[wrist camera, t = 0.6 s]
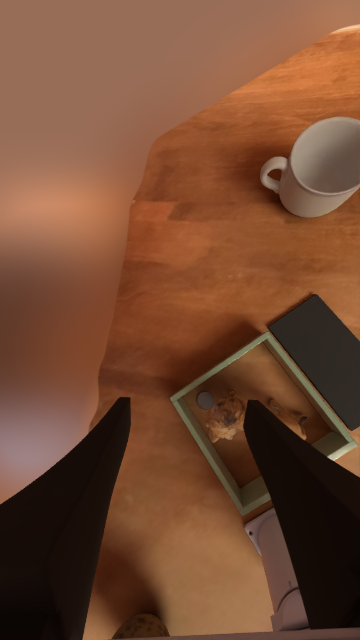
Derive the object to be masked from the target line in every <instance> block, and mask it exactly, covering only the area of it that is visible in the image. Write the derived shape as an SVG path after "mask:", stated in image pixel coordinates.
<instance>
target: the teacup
mask: <svg viewBox="0 0 360 640" xmlns="http://www.w3.org/2000/svg"><path fill="white" fill-rule="evenodd" d="M273 169H281V170H282V176H281V179H280V181H277V180H274V179H272V178H270V177H269V176H268V175H267V174H268V172H270V171H271V170H273ZM260 179H261V182H262V184H263V185H264V186H265V187H267V188H269V189H272V190H274V192H275V193H277V194H279V196H280V199H281V202H282V204H283V205H284V207H285V208H286V209H287V210H288V211H289V212H291V213H293V214H295V215H297V216H300V217H306V218H311V217H318V216H322V215H325V214H327V213H329V212H331V211H333V210H334V209H336V208H337V207H338V206H340V205H341V204H342V203H343V202H344V201H346V200H347V199H348V198H349V197H350V196H351V195H352V194H353V193H354V192H355V191H356V190H357V189H358V188H359V187H360V121H359V120H356V119H354V118H349V117H332V118H328V119H324V120H321V121H318V122H316V123H314V124H312V125H311V126H309V127H308V128H307V129H305V130H304V131H303V132H302V133H301V134H300V135H299V137H298V138H297V139H296V141H295V143H294V145H293V147H292V150H291V153H290V156H289V159H286V158H284V157H279V156H278V157H273V158H271V159H269V160H268V161H267V162H266V163H265V164H264V165H263V167H262V169H261V172H260Z"/></svg>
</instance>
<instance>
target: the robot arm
mask: <svg viewBox="0 0 360 640" xmlns="http://www.w3.org/2000/svg"><path fill="white" fill-rule="evenodd" d="M130 426H131V410H130V397H120V398H118V399H117V401H116V402H115V403H114V405H113V406H112V407H111V409H110V410H109V411H108V412H107V413H106V415H105V416H104V417H103V418H102V419H101V420H100V422H99V423H98V424H97V425H96V426H95V427H94V428H93V429H92V430H91V431H90V432H89V433H88V435H87V436H86V437H85V438H84V439H83V440H82V441H81V442H80V443H79V444H78V445H77V446H76V447H74V448H73V449H72V450H71V451H70V452H69V453H68V454H67V455H66V456H65V457H63V458H62V459H61V460H60V461H59V462H57V463H56V464H55V465H54V466H53V467H51V468H50V469H49V470H48V471H47V472H45V473H44V474H43V475H41V476H40V477H39V478H37V479H36V480H35V481H33V482H32V483H31V484H29V485H28V486H27V487H25V488H24V489H23V490H21V491H20V492H18V493H17V494H15V495H14V496H12V497H11V498H9V499H8V500H6V501H5V502H3V503H2V504H0V640H82V639H83V634H84V628H85V623H86V618H87V612H88V607H89V602H90V597H91V592H92V586H93V581H94V576H95V571H96V567H97V562H98V557H99V552H100V547H101V542H102V537H103V533H104V528H105V523H106V519H107V514H108V510H109V505H110V500H111V496H112V493H113V489H114V485H115V482H116V479H117V476H118V472H119V469H120V466H121V462H122V459H123V456H124V452H125V449H126V446H127V442H128V437H129V432H130ZM243 429H244V432H245V436H246V439H247V442H248V445H249V447H250V450H251V452H252V454H253V457H254V459H255V461H256V464H257V466H258V468H259V471H260V473H261V475H262V478H263V480H264V482H265V485H266V487H267V490H268V492H269V495H270V497H271V500H272V503H273V506H274V507H273V508H271V509H270V510H268V511H266V512H265V513H263V514H262V515H260V516H258V517H257V518H255V519H253V520H252V521H250V522H248V523H247V524H245V526H244V528H245V531H246V533H247V535H248V536H249V538H250V540H251V541H252V543H253V545H254V546H255V548H256V549H257V551H258V553H259V554H260V556H261V558H262V560H263V565H264V569H265V574H266V578H267V582H268V587H269V591H270V596H271V600H272V604H273V609H274V613H275V614H274V615H272V616H271V622H272V626H273V631H274V632H254V633H234V634H213V635H192V636H172V637H151V638H130V639H110V640H360V477H358V476H356V475H355V474H353V473H351V472H350V471H348V470H347V469H345V468H343V467H342V466H340V465H339V464H337V463H336V462H334V461H333V460H331V459H330V458H328V457H327V456H325V455H324V454H323V453H321V452H320V451H318V450H317V449H316V448H314V447H313V446H311V445H310V444H309V443H307V442H306V441H305V440H304V439H302V438H301V437H300V436H299V435H297V434H296V433H295V432H294V431H293V430H291V429H290V428H289V427H288V426H287V425H285V424H284V423H283V422H282V421H281V420H280V419H279V418H277V417H276V416H275V415H274V414H273V413H272V412H271V411H270V410H268V409H267V408H266V407H265V406H264V405H263V404H262V403H260V402H259V401H258V400H248V403H247V408H246V413H245V418H244V423H243ZM250 531H251V532H252V533H249V532H250Z"/></svg>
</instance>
